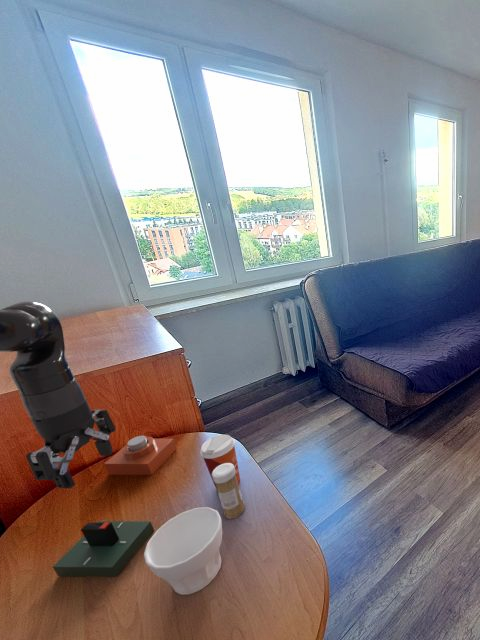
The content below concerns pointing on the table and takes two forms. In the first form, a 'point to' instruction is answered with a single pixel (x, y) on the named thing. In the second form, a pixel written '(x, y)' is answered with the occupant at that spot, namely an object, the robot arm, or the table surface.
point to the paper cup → (219, 453)
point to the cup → (187, 550)
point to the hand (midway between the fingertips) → (88, 469)
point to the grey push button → (137, 443)
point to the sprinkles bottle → (228, 490)
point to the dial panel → (105, 552)
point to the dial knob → (100, 534)
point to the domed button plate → (141, 458)
